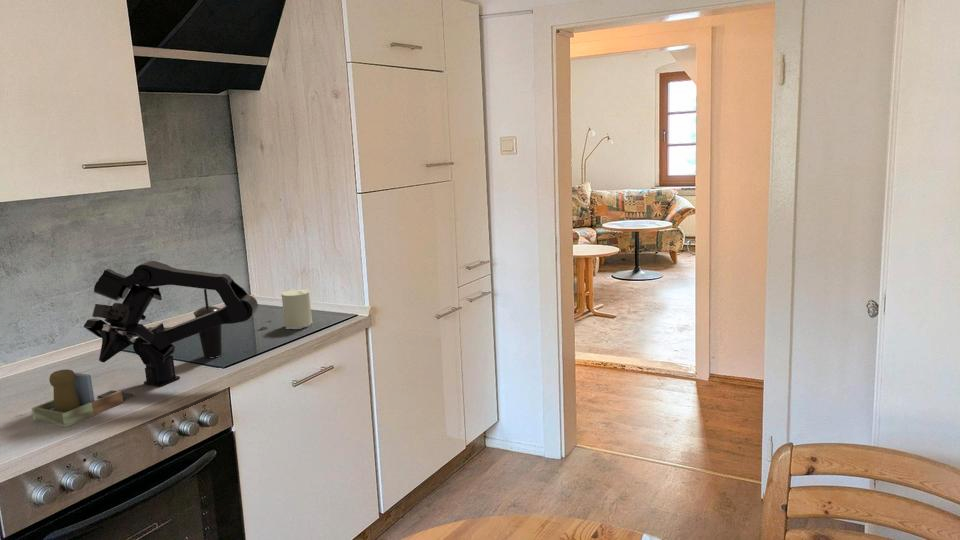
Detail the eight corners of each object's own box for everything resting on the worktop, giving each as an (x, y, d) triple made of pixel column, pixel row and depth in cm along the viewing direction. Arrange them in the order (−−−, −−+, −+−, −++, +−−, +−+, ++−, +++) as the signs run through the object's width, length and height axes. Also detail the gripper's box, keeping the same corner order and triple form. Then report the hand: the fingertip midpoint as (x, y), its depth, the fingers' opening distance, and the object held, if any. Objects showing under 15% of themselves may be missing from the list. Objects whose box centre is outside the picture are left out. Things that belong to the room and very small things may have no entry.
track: (91, 397, 175) (89, 386, 174) (123, 402, 170) (121, 391, 169) (33, 420, 162) (31, 407, 161) (66, 426, 157) (64, 414, 156)
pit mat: (111, 391, 178) (111, 390, 178) (134, 395, 175) (133, 393, 175) (97, 397, 174) (97, 395, 174) (120, 401, 171) (119, 399, 171)
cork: (88, 410, 166) (81, 366, 164) (75, 420, 160) (67, 374, 158) (62, 411, 166) (55, 367, 164) (48, 421, 160) (40, 376, 158)
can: (298, 331, 227) (294, 295, 224) (278, 328, 231) (274, 292, 229) (318, 323, 234) (315, 289, 232) (298, 321, 239) (295, 286, 237)
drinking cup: (227, 357, 202) (219, 290, 198) (199, 361, 199) (190, 293, 195) (226, 350, 209) (218, 285, 205) (199, 354, 206) (190, 288, 202)
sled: (72, 406, 169) (66, 371, 167) (96, 411, 165) (90, 374, 163) (44, 417, 162) (38, 381, 161) (68, 422, 159) (62, 385, 157)
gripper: (85, 287, 176) (49, 342, 168) (138, 292, 168) (104, 349, 160) (116, 310, 184) (84, 363, 176) (168, 315, 177) (137, 371, 169)
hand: (101, 361), depth 170 cm, fingers closed
